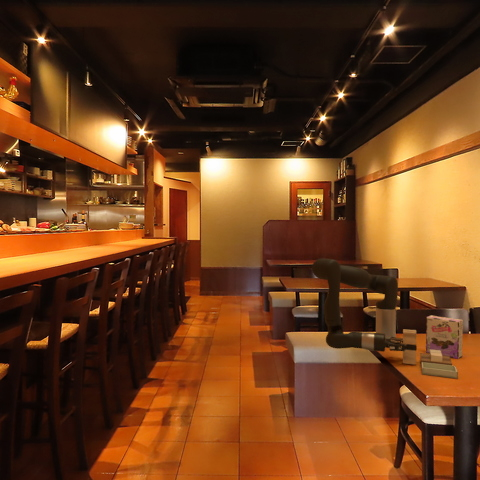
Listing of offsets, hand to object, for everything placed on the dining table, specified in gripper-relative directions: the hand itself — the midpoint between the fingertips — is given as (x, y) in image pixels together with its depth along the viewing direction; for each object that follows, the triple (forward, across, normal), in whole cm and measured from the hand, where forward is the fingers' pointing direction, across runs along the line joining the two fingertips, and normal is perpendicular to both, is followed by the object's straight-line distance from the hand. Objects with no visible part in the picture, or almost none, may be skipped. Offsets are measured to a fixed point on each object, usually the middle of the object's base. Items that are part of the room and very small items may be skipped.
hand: (416, 346), depth 166 cm
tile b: (+7, -3, +4) cm, 9 cm away
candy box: (+12, +19, +8) cm, 24 cm away
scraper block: (-3, 0, +7) cm, 7 cm away
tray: (+8, -9, +7) cm, 14 cm away
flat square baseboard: (+7, 0, +7) cm, 10 cm away
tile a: (+7, +2, +4) cm, 9 cm away
